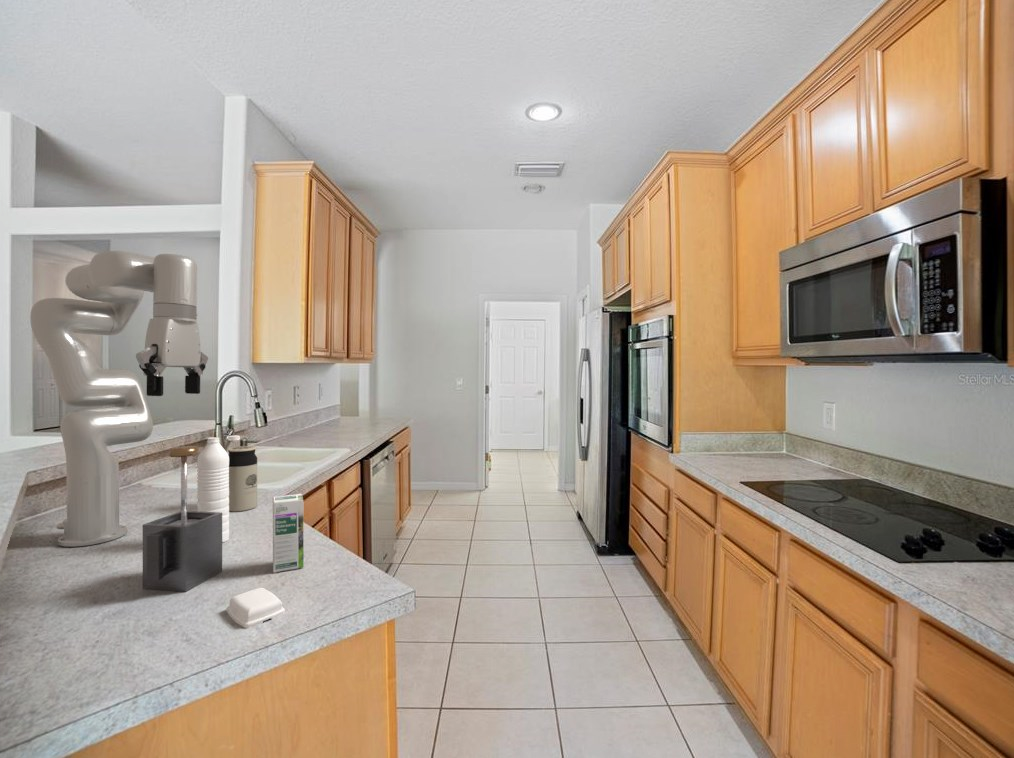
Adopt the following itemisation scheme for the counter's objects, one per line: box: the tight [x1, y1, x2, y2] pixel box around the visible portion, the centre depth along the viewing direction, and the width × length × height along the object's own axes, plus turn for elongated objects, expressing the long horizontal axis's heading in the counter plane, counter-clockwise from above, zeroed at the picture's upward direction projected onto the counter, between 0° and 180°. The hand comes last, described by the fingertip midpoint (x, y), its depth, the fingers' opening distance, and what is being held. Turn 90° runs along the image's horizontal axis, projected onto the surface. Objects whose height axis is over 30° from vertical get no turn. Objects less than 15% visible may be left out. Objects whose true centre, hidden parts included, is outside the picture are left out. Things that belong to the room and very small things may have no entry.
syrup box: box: [272, 493, 305, 574], centre depth 97 cm, size 6×6×14 cm
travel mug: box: [227, 445, 258, 513], centre depth 138 cm, size 8×8×18 cm
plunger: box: [167, 445, 199, 526], centre depth 90 cm, size 6×6×16 cm
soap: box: [226, 587, 286, 629], centre depth 78 cm, size 9×7×3 cm
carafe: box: [142, 510, 223, 593], centre depth 89 cm, size 9×11×12 cm
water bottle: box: [196, 434, 241, 543], centre depth 111 cm, size 9×6×25 cm
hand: (174, 394), depth 99 cm, fingers open, 9 cm apart
